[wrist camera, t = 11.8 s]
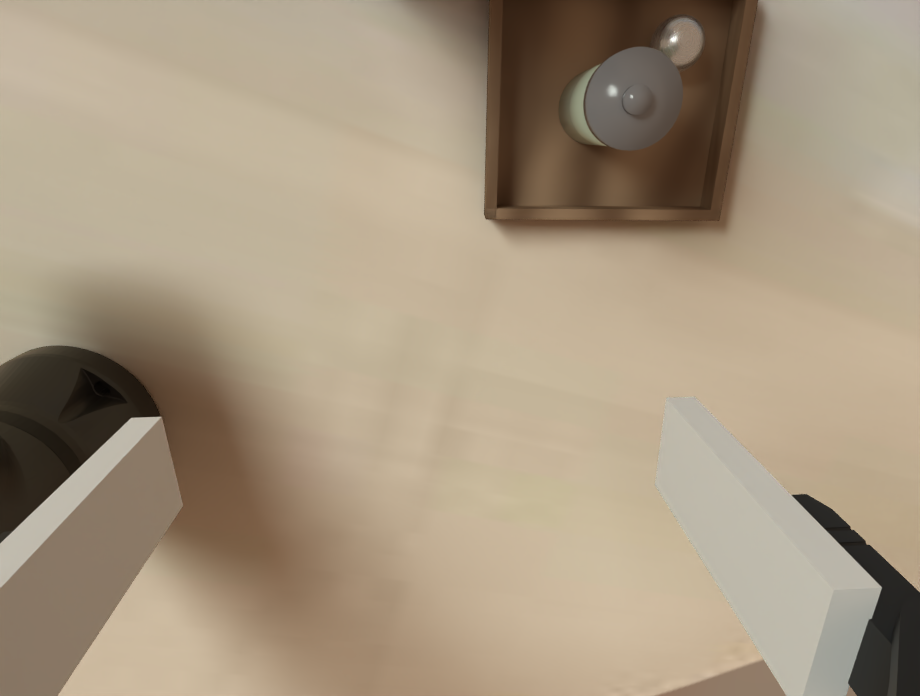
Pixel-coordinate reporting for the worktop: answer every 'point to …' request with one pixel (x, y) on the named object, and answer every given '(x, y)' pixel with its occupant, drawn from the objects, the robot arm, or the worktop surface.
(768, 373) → the worktop surface
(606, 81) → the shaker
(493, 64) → the tray
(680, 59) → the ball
